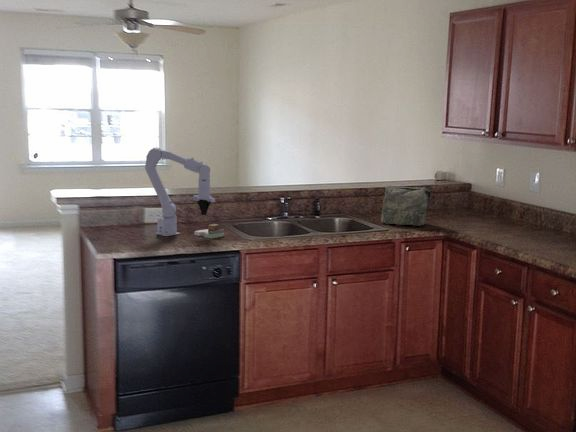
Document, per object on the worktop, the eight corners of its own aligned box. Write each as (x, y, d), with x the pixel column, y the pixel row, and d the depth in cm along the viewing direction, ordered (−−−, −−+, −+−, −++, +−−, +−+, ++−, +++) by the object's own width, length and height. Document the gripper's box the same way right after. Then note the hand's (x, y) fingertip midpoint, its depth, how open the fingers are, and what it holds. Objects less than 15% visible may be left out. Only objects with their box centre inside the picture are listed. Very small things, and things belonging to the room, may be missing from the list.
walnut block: (213, 233, 331) (213, 225, 330) (208, 232, 334) (208, 224, 333) (219, 232, 334) (219, 224, 333) (214, 231, 337) (214, 223, 336)
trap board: (210, 238, 329) (210, 231, 328) (194, 235, 337) (194, 228, 336) (223, 236, 336) (223, 229, 335) (207, 232, 343) (208, 226, 343)
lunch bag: (430, 223, 389) (432, 186, 386) (423, 228, 373) (426, 189, 369) (386, 219, 399) (388, 183, 395) (378, 224, 382) (380, 186, 379)
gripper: (219, 189, 333) (219, 215, 335) (200, 186, 343) (200, 212, 345) (209, 190, 328) (209, 217, 330) (190, 187, 337) (189, 213, 340)
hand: (203, 214), depth 337 cm, fingers closed
